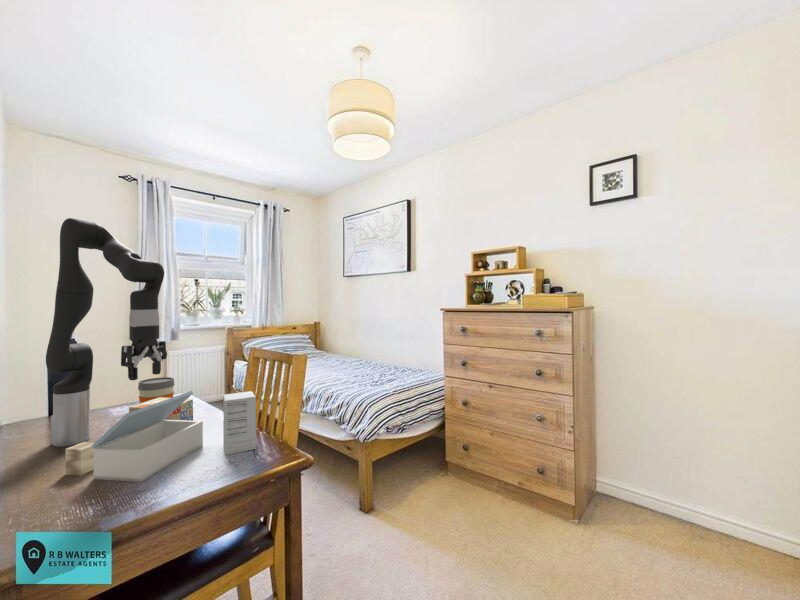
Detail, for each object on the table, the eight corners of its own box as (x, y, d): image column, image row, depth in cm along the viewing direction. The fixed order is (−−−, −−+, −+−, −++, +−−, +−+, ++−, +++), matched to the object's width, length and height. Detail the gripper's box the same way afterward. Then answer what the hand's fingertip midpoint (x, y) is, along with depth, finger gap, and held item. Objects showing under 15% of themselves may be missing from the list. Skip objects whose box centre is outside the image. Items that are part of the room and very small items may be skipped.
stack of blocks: (180, 421, 141) (179, 390, 141) (193, 422, 140) (193, 391, 140) (128, 442, 120) (128, 406, 121) (144, 444, 119) (143, 407, 119)
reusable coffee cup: (146, 413, 153) (146, 378, 153) (179, 410, 156) (179, 376, 156) (132, 422, 141) (131, 384, 141) (167, 419, 144) (167, 382, 144)
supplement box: (256, 449, 114) (256, 396, 114) (224, 455, 109) (224, 400, 109) (253, 439, 122) (252, 390, 122) (223, 445, 117) (222, 393, 118)
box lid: (93, 448, 95) (91, 445, 95) (164, 419, 119) (162, 417, 119) (129, 416, 94) (127, 413, 94) (193, 393, 118) (191, 390, 118)
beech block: (65, 474, 98) (65, 449, 98) (83, 466, 103) (83, 441, 103) (81, 475, 97) (81, 449, 97) (99, 467, 102) (99, 442, 102)
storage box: (93, 479, 95) (93, 449, 95) (164, 443, 119) (164, 419, 119) (140, 482, 93) (140, 451, 93) (202, 445, 117) (202, 421, 117)
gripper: (152, 323, 118) (152, 372, 117) (112, 326, 103) (113, 382, 103) (173, 323, 117) (173, 372, 116) (135, 325, 103) (136, 382, 102)
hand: (145, 377), depth 110 cm, fingers open, 8 cm apart
